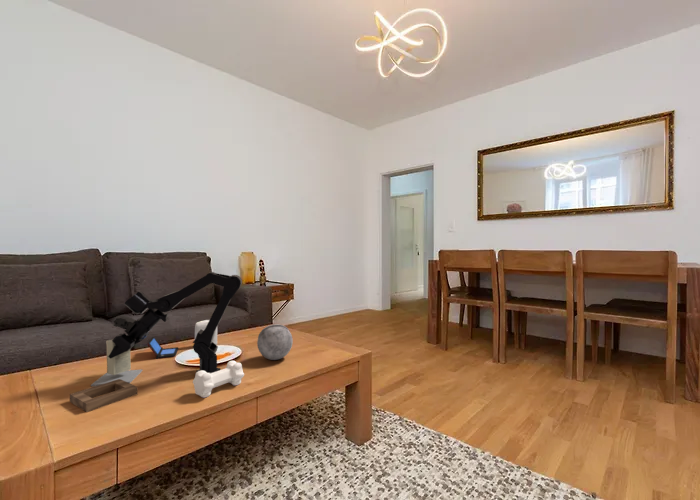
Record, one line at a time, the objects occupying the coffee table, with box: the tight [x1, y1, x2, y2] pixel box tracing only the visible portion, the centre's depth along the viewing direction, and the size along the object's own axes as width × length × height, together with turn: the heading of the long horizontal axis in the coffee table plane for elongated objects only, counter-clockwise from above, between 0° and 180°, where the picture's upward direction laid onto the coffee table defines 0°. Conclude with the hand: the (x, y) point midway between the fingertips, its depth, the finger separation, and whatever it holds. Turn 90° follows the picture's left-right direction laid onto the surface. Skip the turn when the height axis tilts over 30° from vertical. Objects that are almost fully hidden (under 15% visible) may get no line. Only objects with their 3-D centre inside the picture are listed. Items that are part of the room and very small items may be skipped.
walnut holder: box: [69, 379, 138, 413], centre depth 108 cm, size 12×14×2 cm
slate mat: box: [90, 368, 143, 387], centre depth 124 cm, size 12×12×1 cm
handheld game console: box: [147, 336, 179, 360], centre depth 151 cm, size 12×11×7 cm
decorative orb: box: [256, 323, 294, 361], centre depth 145 cm, size 15×14×15 cm
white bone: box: [192, 360, 245, 398], centre depth 115 cm, size 15×9×8 cm, turn 144°
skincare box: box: [105, 338, 132, 375], centre depth 124 cm, size 6×4×12 cm
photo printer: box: [194, 319, 218, 346], centre depth 164 cm, size 10×4×12 cm, turn 123°
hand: (114, 354), depth 123 cm, fingers closed on skincare box, 7 cm apart
